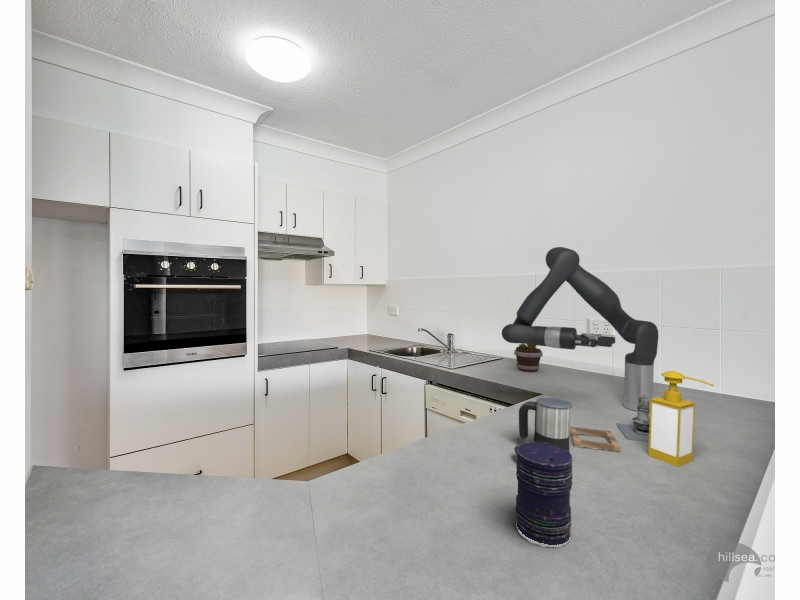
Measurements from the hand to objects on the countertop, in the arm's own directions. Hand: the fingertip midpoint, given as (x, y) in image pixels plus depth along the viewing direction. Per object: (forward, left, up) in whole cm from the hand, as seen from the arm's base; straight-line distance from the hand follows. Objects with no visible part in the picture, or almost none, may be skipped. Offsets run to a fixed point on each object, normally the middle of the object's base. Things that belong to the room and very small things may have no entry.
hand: (613, 342), depth 122 cm
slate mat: (+3, +8, -28) cm, 29 cm away
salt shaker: (+3, +8, -28) cm, 29 cm away
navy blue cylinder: (+62, -25, -28) cm, 73 cm away
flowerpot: (-79, -24, -28) cm, 87 cm away
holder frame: (+14, -8, -28) cm, 32 cm away
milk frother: (+31, -23, -28) cm, 48 cm away
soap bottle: (+22, +12, -28) cm, 38 cm away
